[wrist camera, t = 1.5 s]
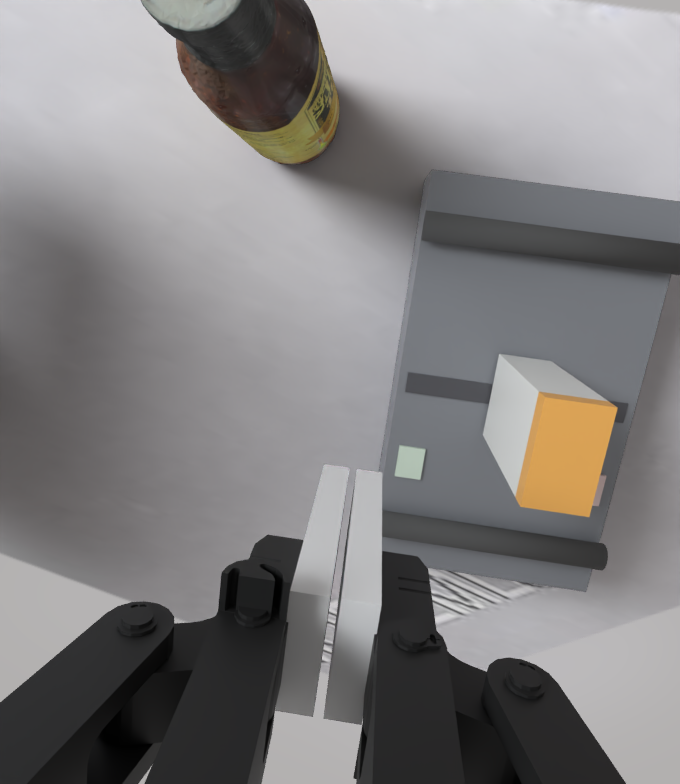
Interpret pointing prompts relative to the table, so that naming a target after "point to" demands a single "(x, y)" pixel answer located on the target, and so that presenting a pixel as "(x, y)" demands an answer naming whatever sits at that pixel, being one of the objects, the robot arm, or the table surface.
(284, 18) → the sauce bottle
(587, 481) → the lever
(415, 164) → the table surface
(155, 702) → the robot arm
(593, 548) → the pair of dark rails
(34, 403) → the table surface
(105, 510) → the table surface
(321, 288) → the table surface
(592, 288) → the switch panel
